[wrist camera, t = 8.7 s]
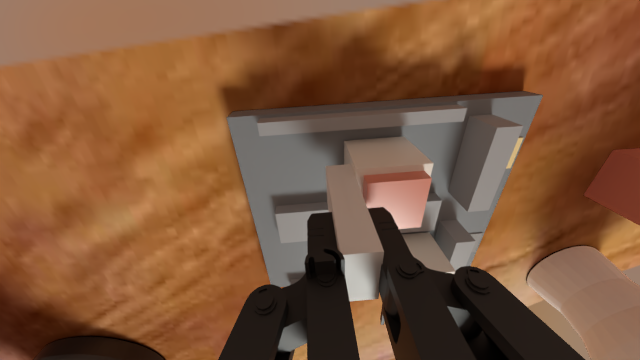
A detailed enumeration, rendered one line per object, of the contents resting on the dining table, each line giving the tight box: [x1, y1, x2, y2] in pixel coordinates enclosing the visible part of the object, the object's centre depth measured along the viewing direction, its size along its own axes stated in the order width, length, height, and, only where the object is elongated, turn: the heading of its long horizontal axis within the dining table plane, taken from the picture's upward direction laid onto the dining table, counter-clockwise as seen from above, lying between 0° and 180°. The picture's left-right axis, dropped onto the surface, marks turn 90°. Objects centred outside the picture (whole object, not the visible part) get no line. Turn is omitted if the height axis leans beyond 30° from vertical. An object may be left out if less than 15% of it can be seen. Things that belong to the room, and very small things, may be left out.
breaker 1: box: [344, 136, 434, 229], centre depth 14 cm, size 4×4×5 cm
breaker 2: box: [402, 232, 455, 274], centre depth 19 cm, size 4×4×4 cm
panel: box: [227, 91, 543, 287], centre depth 18 cm, size 20×17×4 cm
